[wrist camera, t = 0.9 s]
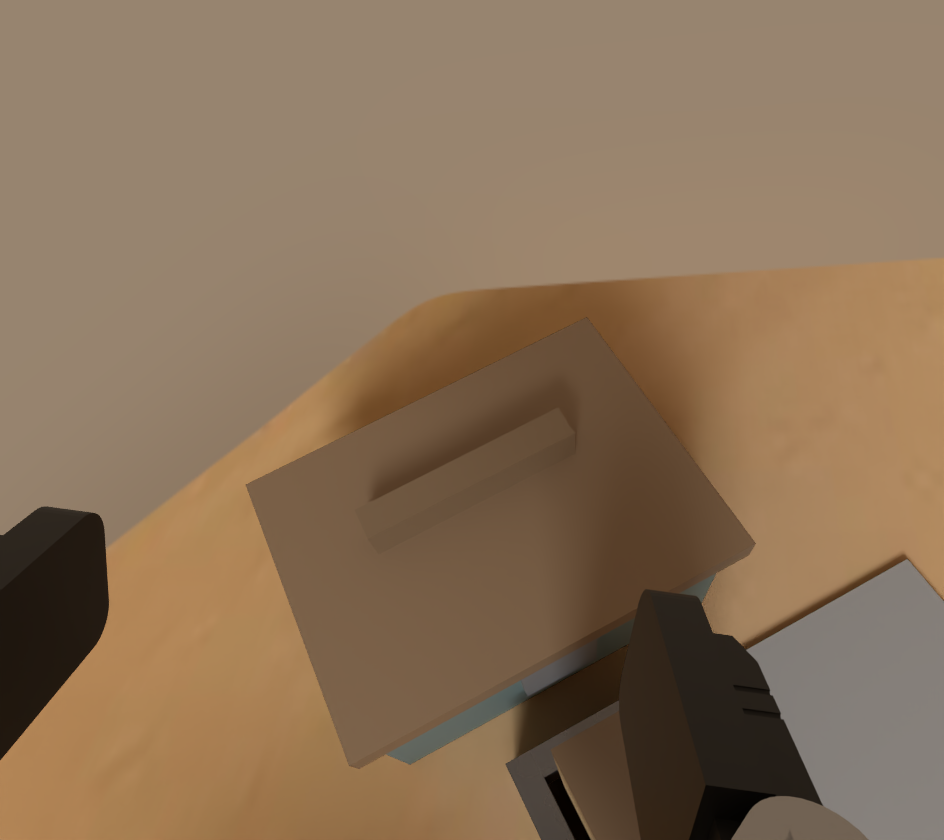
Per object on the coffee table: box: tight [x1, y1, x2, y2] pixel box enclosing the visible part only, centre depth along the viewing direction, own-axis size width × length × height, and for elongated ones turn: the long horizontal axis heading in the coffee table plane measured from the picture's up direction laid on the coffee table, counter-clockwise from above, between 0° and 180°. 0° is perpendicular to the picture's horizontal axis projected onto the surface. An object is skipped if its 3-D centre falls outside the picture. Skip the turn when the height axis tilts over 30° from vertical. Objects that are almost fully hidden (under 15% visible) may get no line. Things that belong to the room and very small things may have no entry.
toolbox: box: [246, 317, 756, 769], centre depth 30 cm, size 15×11×10 cm
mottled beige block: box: [551, 711, 641, 840], centre depth 22 cm, size 4×4×16 cm
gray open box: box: [506, 700, 619, 840], centre depth 27 cm, size 7×7×4 cm
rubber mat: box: [746, 559, 944, 840], centre depth 29 cm, size 9×9×1 cm
